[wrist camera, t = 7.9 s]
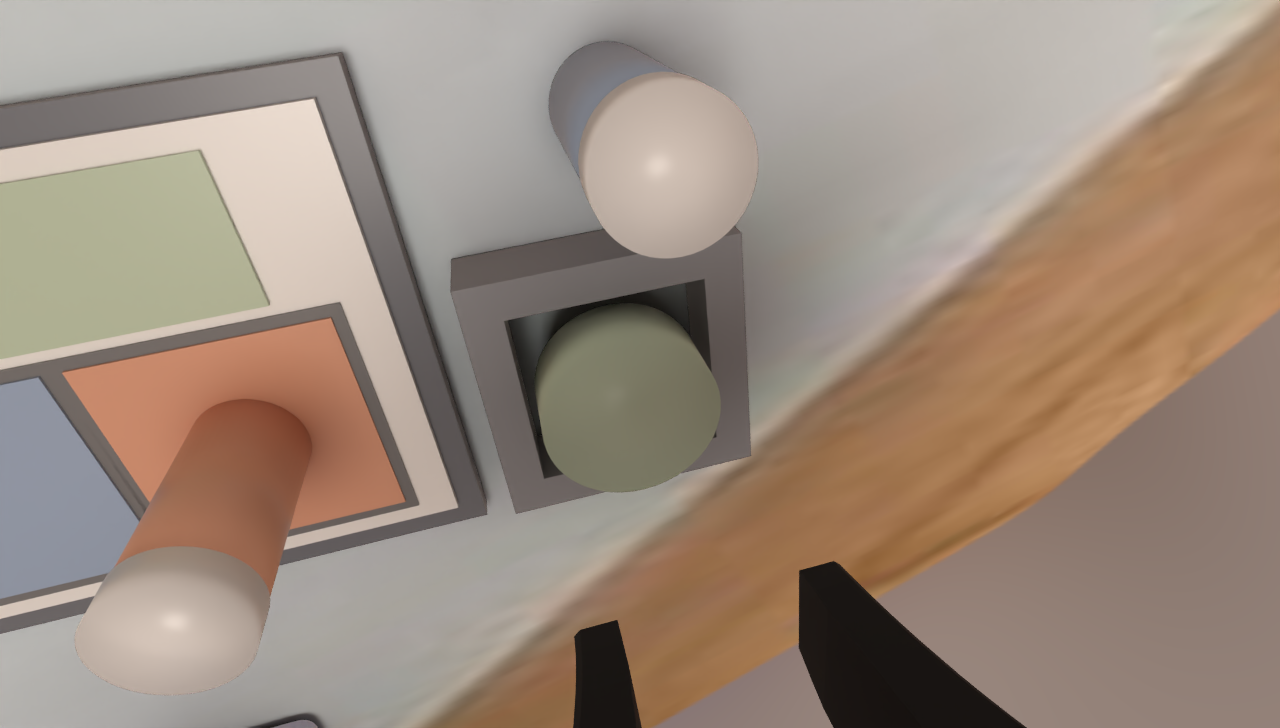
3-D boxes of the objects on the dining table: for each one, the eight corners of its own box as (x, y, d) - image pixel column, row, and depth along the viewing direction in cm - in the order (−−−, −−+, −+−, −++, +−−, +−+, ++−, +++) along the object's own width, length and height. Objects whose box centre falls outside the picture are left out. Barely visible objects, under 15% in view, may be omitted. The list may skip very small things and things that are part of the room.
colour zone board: (486, 501, 22) (487, 522, 21) (-77, 638, 20) (-100, 667, 19) (342, 53, 15) (335, 58, 14) (-552, 192, 13) (-620, 207, 12)
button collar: (728, 417, 22) (751, 455, 20) (511, 469, 21) (515, 513, 19) (715, 207, 18) (741, 232, 17) (451, 259, 17) (450, 291, 16)
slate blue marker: (672, 156, 17) (760, 241, 12) (558, 177, 17) (601, 273, 12) (659, 29, 16) (755, 66, 11) (535, 50, 16) (572, 98, 10)
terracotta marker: (332, 471, 19) (285, 666, 14) (222, 501, 18) (132, 712, 13) (284, 384, 17) (211, 568, 12) (163, 415, 17) (36, 618, 12)
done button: (702, 425, 20) (725, 469, 18) (551, 461, 19) (560, 510, 18) (690, 287, 17) (715, 322, 16) (518, 323, 17) (524, 364, 15)
